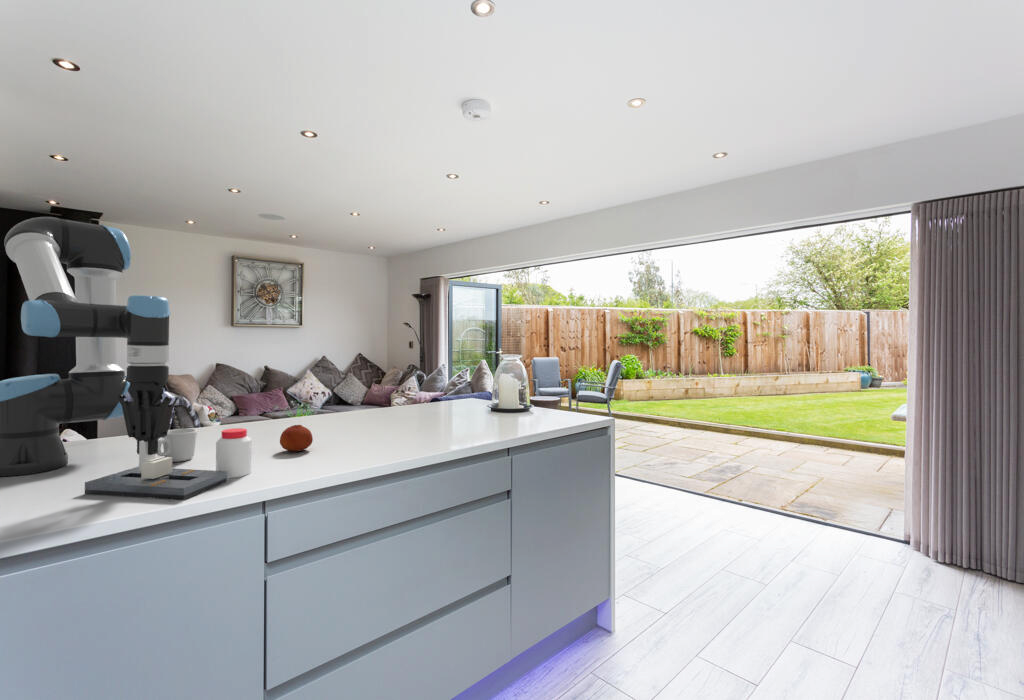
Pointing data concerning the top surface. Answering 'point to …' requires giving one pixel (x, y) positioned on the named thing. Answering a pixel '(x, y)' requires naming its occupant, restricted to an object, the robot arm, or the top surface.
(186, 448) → the cup
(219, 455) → the pill bottle
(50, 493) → the top surface
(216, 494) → the top surface
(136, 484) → the console
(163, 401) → the robot arm
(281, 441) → the fruit
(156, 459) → the fader
